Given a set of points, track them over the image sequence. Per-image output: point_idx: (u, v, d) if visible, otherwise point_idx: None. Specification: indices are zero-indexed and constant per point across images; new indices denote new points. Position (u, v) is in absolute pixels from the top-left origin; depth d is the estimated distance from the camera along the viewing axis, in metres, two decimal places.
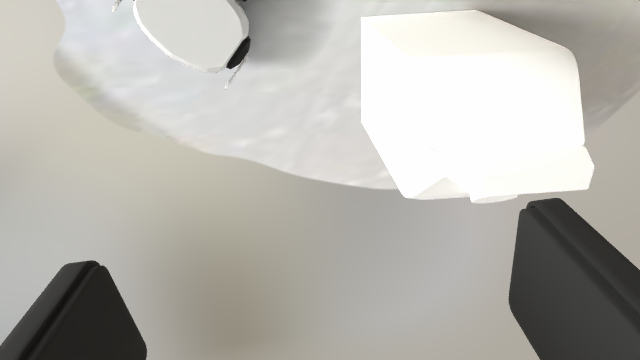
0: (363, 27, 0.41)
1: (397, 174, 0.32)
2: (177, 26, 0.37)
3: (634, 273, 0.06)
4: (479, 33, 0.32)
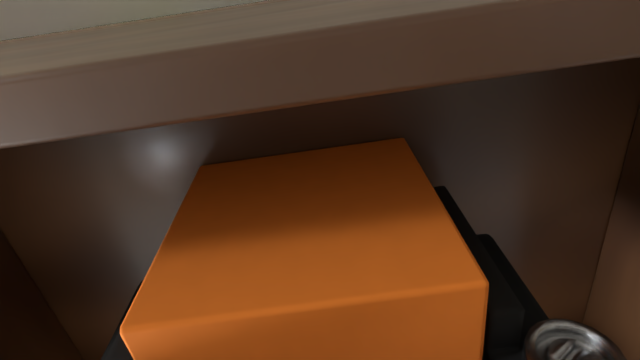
0: None
1: None
2: None
3: (476, 247, 0.07)
4: None
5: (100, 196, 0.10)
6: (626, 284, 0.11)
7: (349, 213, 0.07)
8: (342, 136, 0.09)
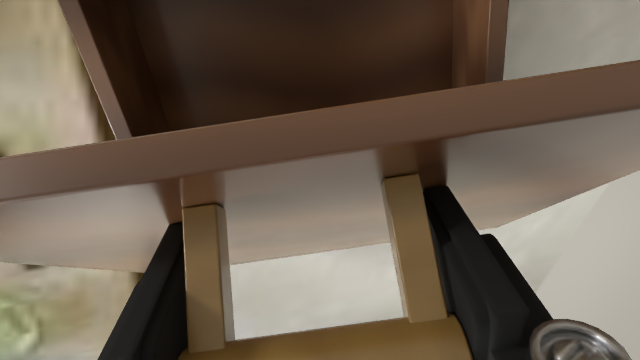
0: None
1: None
2: None
3: (480, 247, 0.07)
4: None
5: (193, 29, 0.20)
6: (458, 76, 0.21)
7: None
8: None
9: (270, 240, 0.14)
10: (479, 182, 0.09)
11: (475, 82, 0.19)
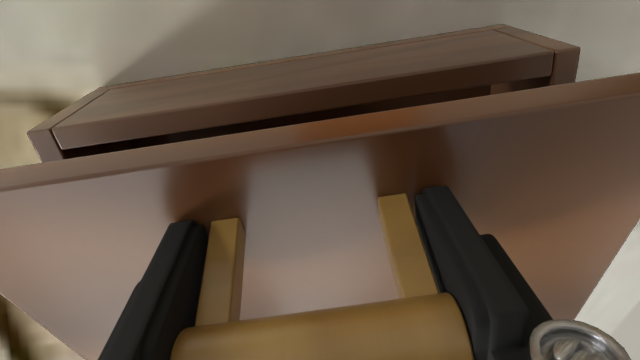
0: None
1: None
2: None
3: (480, 247, 0.07)
4: None
5: None
6: None
7: None
8: None
9: None
10: None
11: None
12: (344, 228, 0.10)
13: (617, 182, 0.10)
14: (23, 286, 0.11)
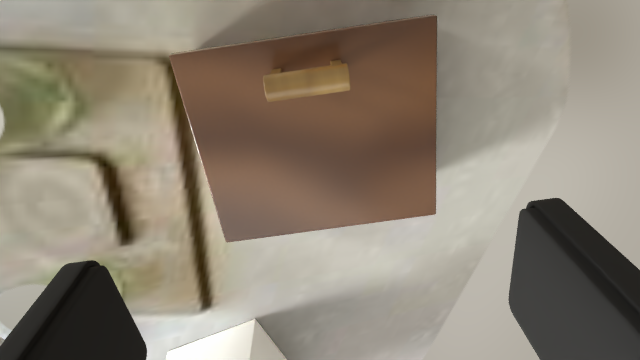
0: None
1: None
2: None
3: (634, 273, 0.06)
4: None
5: None
6: None
7: None
8: None
9: (295, 154, 0.30)
10: (367, 81, 0.27)
11: None
12: None
13: (418, 59, 0.27)
14: (195, 103, 0.28)
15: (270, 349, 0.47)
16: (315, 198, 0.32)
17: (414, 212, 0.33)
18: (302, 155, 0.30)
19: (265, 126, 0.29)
